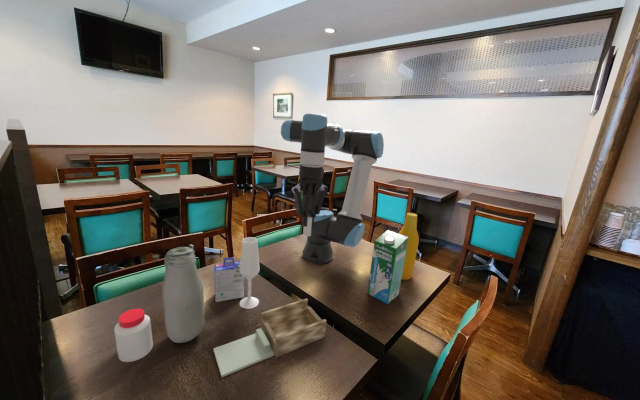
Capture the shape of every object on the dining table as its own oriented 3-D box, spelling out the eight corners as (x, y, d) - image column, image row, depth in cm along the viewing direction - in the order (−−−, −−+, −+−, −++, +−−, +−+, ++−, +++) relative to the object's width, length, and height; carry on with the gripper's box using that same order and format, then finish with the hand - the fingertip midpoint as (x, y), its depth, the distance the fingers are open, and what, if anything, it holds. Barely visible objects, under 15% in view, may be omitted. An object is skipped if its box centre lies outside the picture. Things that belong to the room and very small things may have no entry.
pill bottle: (114, 365, 66) (108, 329, 64) (122, 343, 73) (117, 309, 70) (150, 357, 70) (146, 322, 67) (154, 336, 76) (151, 303, 74)
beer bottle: (403, 268, 127) (414, 210, 119) (416, 279, 118) (428, 217, 111) (387, 270, 124) (396, 211, 116) (398, 281, 115) (409, 218, 108)
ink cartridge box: (242, 289, 101) (242, 254, 97) (244, 297, 96) (244, 261, 93) (214, 293, 97) (213, 257, 94) (215, 302, 92) (214, 265, 89)
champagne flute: (251, 311, 90) (252, 246, 84) (235, 305, 92) (234, 241, 86) (262, 299, 96) (264, 238, 90) (246, 294, 98) (247, 234, 92)
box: (305, 313, 91) (306, 298, 89) (324, 337, 81) (326, 320, 79) (260, 329, 82) (260, 312, 81) (276, 357, 72) (276, 339, 71)
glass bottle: (192, 319, 84) (187, 237, 76) (211, 335, 78) (208, 248, 71) (159, 338, 76) (150, 248, 69) (178, 357, 70) (170, 262, 63)
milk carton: (367, 293, 105) (375, 234, 98) (378, 284, 111) (387, 229, 105) (387, 304, 99) (397, 242, 92) (398, 294, 105) (409, 236, 99)
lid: (261, 334, 81) (262, 324, 80) (274, 356, 73) (274, 345, 72) (213, 352, 73) (213, 341, 72) (221, 379, 66) (221, 367, 65)
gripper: (322, 163, 90) (317, 228, 96) (287, 163, 83) (284, 233, 89) (335, 166, 84) (328, 235, 90) (299, 167, 77) (294, 242, 83)
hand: (306, 234), depth 90 cm, fingers closed
